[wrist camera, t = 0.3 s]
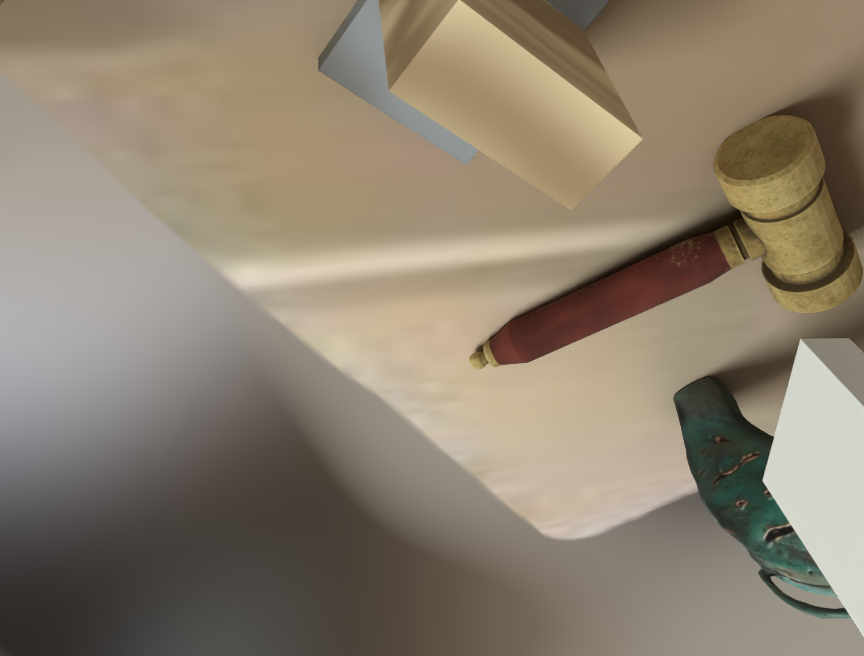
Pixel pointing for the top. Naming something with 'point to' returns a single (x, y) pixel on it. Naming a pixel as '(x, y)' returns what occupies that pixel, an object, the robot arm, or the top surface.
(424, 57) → the fulcrum
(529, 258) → the top surface
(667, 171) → the top surface
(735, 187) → the gavel
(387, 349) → the top surface
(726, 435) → the ceramic cat
